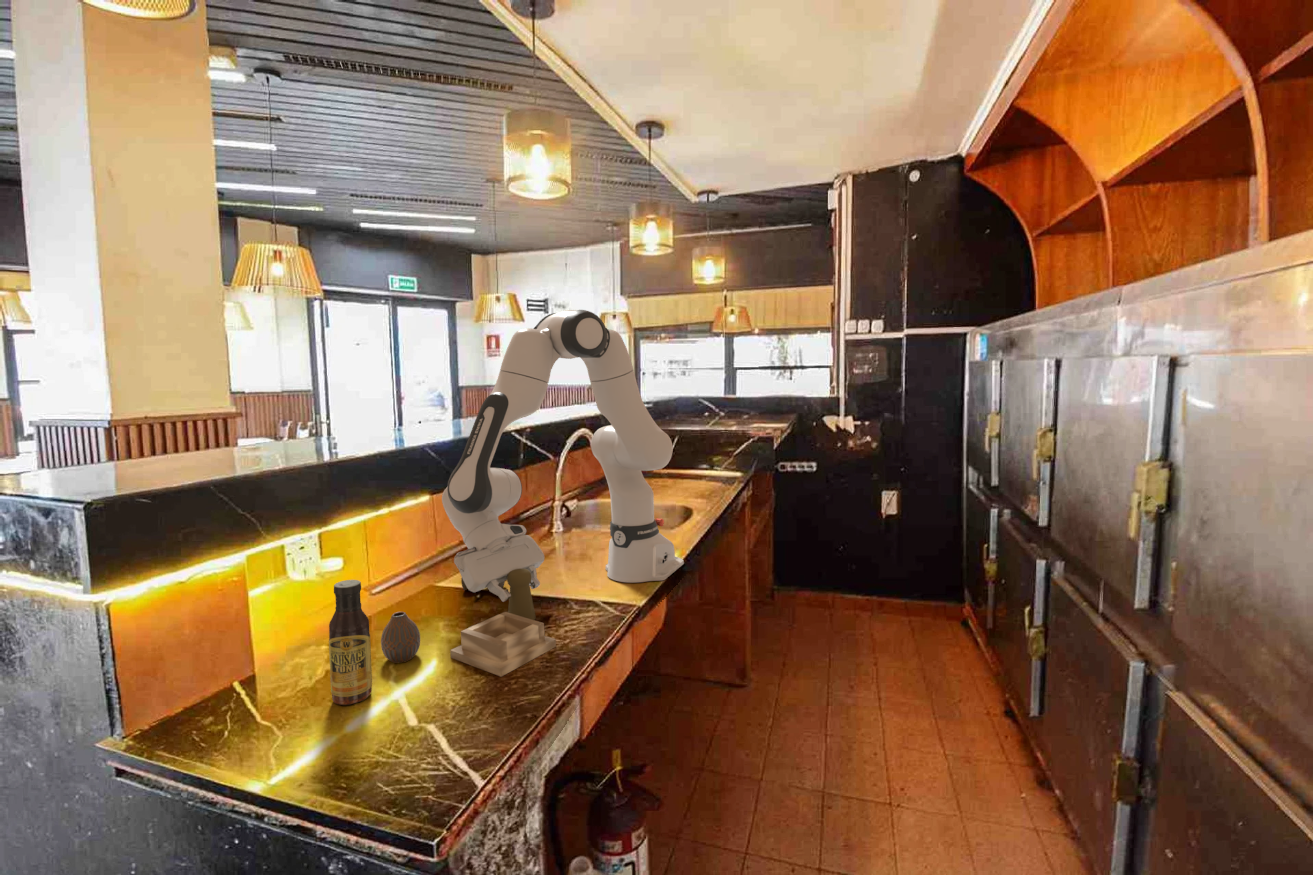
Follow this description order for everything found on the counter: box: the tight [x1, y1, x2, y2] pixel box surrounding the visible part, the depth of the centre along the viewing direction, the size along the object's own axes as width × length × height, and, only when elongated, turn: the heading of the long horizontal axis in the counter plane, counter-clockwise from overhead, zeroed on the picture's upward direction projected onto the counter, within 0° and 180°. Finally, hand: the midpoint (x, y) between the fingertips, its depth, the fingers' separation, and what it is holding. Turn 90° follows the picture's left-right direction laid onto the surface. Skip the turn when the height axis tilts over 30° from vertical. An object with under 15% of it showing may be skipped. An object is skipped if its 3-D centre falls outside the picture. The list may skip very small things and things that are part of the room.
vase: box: [380, 611, 421, 664], centre depth 119 cm, size 7×7×9 cm
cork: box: [506, 569, 536, 621], centre depth 136 cm, size 6×6×11 cm
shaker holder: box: [449, 611, 557, 678], centre depth 120 cm, size 14×14×5 cm
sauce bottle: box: [328, 579, 373, 706], centre depth 104 cm, size 6×6×20 cm
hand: (522, 592), depth 135 cm, fingers open, 7 cm apart
